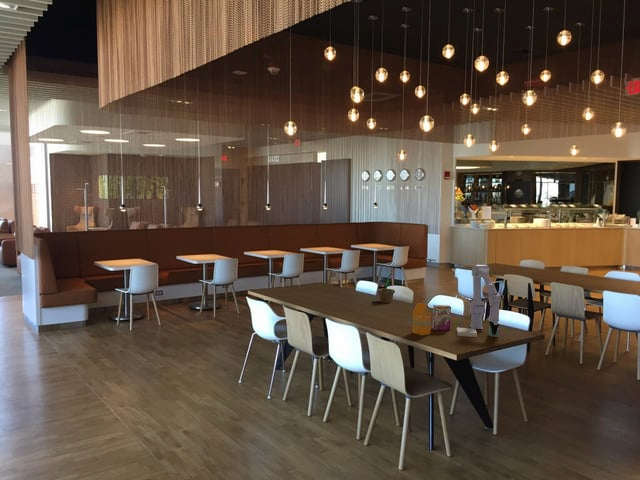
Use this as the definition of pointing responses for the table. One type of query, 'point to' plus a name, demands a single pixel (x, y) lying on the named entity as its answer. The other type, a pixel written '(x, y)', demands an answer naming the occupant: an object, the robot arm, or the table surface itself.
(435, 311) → the candy bar box
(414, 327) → the orange juice
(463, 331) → the grey plinth
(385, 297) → the flowerpot
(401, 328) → the table surface
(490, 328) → the teal cube
